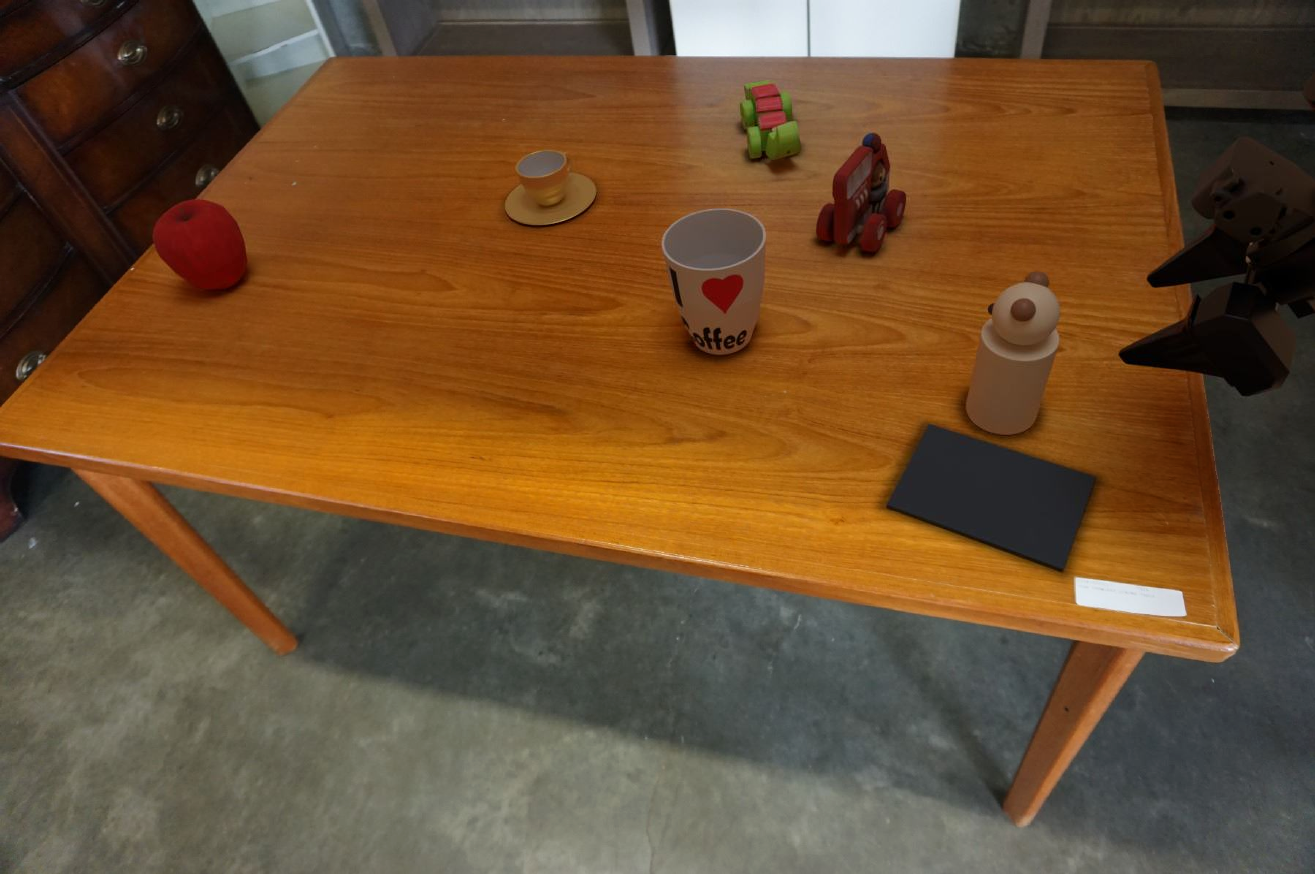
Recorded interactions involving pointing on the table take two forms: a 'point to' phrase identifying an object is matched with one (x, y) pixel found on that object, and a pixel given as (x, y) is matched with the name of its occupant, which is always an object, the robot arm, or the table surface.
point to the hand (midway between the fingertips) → (1136, 318)
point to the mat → (994, 495)
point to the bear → (1014, 357)
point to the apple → (201, 244)
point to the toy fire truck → (862, 198)
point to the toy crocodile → (769, 121)
